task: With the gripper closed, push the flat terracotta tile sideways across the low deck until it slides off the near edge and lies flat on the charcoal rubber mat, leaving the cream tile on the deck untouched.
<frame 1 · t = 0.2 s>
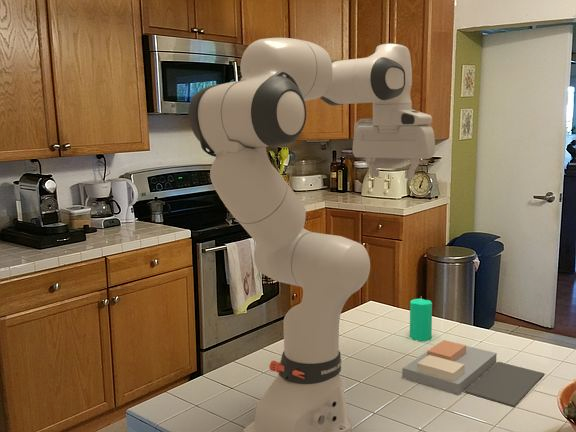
hand: (391, 177, 133), 47 cm above the countertop, fingers open, 8 cm apart
cream tile: (440, 371, 132), point 2 cm above the countertop, touching deck
candle: (420, 338, 161), on the countertop
terracotta tile: (446, 355, 141), point 2 cm above the countertop, touching deck
deck: (450, 370, 139), on the countertop
mat: (505, 383, 131), on the countertop
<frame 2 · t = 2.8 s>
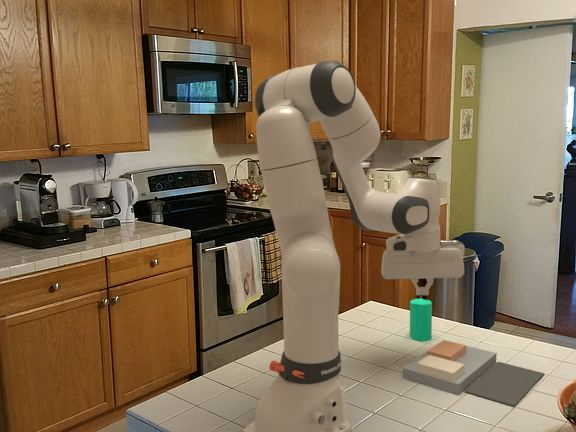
hand: (422, 294, 144), 17 cm above the countertop, fingers closed
nothing on the countertop moved.
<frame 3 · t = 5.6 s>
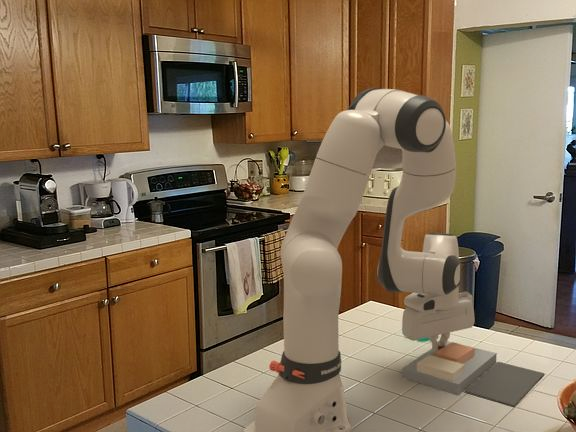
hand: (438, 349, 143), 3 cm above the countertop, fingers closed
terracotta tile: (454, 358, 140), point 3 cm above the countertop, touching gripper
everything else where it was.
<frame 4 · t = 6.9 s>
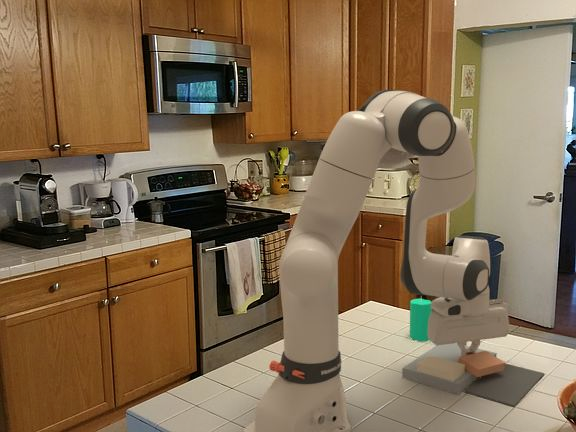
hand: (468, 357, 138), 3 cm above the countertop, fingers closed
terracotta tile: (480, 367, 134), point 2 cm above the countertop, tilted 9°, touching gripper
everything else where it was.
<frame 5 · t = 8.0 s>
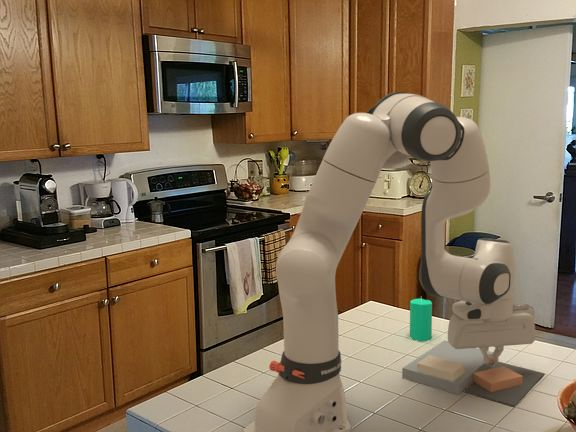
hand: (490, 363, 134), 3 cm above the countertop, fingers closed
terracotta tile: (497, 382, 131), resting on mat
everything else where it was.
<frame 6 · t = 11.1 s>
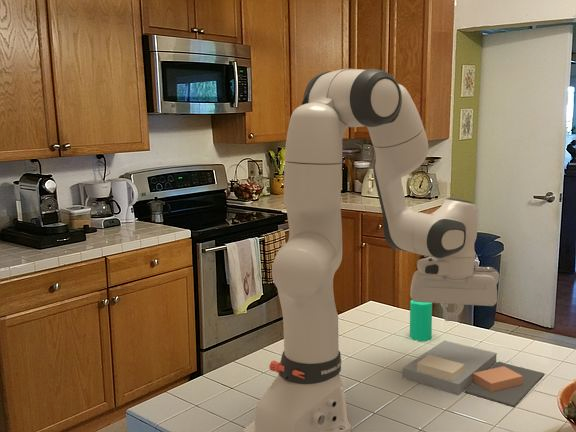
hand: (451, 320, 139), 12 cm above the countertop, fingers closed
nothing on the countertop moved.
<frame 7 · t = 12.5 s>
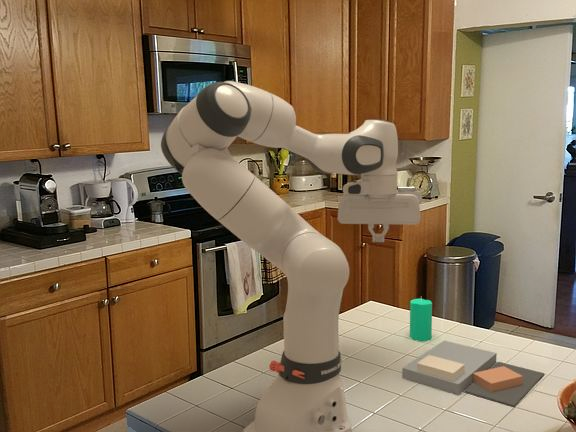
hand: (378, 241, 142), 31 cm above the countertop, fingers closed
nothing on the countertop moved.
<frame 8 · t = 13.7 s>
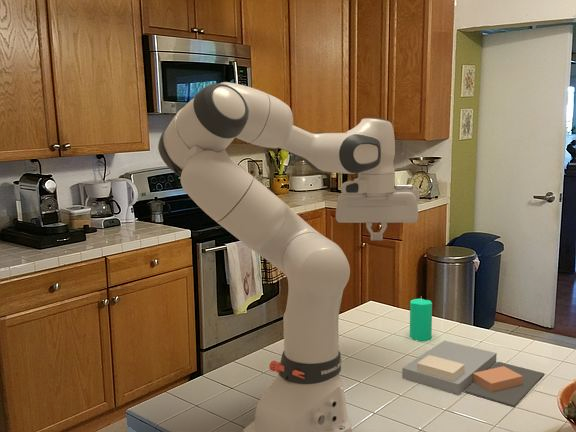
hand: (376, 240, 142), 31 cm above the countertop, fingers closed
nothing on the countertop moved.
at the end: terracotta tile resting on mat; terracotta tile inside the target area on the mat (2.1 cm from its centre), point 0.4 cm above the mat's base; cream tile moved 0.1 cm from its start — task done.
